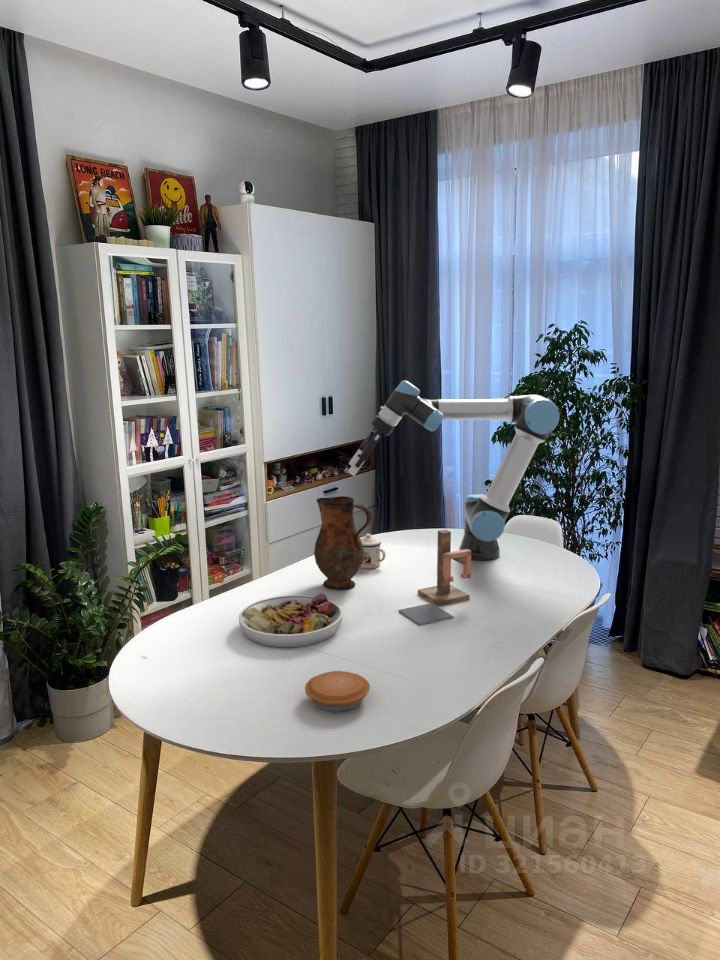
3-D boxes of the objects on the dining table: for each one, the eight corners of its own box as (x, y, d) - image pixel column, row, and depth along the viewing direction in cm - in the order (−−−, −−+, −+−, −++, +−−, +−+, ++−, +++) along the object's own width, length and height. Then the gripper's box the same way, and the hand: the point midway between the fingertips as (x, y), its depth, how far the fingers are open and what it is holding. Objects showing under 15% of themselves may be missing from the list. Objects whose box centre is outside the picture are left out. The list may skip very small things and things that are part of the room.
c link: (467, 576, 240) (467, 548, 238) (470, 577, 238) (471, 550, 236) (443, 580, 236) (443, 553, 234) (446, 582, 234) (447, 555, 232)
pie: (373, 715, 174) (373, 695, 173) (305, 719, 173) (304, 699, 172) (367, 683, 189) (367, 665, 188) (304, 686, 188) (304, 667, 187)
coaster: (431, 604, 239) (431, 602, 239) (453, 617, 229) (453, 616, 228) (398, 611, 234) (398, 609, 234) (419, 625, 223) (419, 623, 223)
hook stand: (417, 593, 248) (418, 529, 243) (448, 587, 253) (449, 524, 249) (445, 611, 234) (446, 542, 229) (477, 604, 239) (479, 537, 234)
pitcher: (332, 573, 268) (330, 491, 262) (384, 584, 257) (383, 498, 250) (304, 587, 255) (301, 501, 248) (357, 600, 243) (356, 509, 237)
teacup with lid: (351, 565, 276) (350, 535, 274) (366, 559, 283) (366, 529, 281) (377, 572, 269) (377, 541, 266) (392, 565, 276) (392, 535, 273)
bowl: (287, 662, 201) (286, 634, 200) (218, 631, 221) (217, 606, 220) (363, 627, 223) (363, 602, 221) (294, 602, 243) (293, 579, 241)
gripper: (376, 409, 275) (343, 456, 279) (378, 420, 251) (341, 471, 255) (393, 421, 276) (360, 468, 280) (396, 433, 252) (359, 483, 256)
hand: (351, 469), depth 268 cm, fingers open, 13 cm apart
